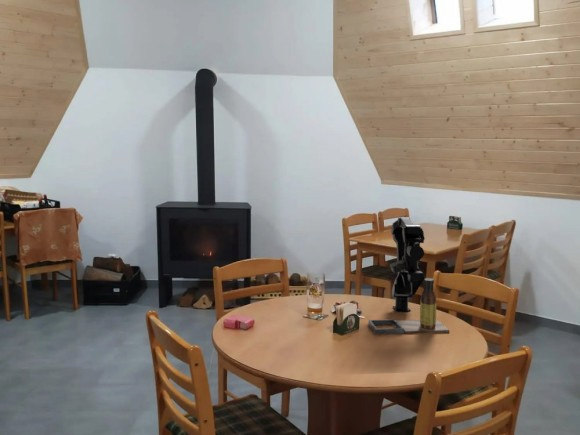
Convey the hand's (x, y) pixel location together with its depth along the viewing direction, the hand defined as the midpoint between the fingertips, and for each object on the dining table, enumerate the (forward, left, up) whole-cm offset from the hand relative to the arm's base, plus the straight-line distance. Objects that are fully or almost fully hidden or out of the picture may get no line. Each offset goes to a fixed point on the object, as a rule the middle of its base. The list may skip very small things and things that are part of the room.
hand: (409, 291), depth 213 cm
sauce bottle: (+10, +5, -12) cm, 16 cm away
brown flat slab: (+7, +3, -13) cm, 15 cm away
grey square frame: (+8, -12, -13) cm, 20 cm away
